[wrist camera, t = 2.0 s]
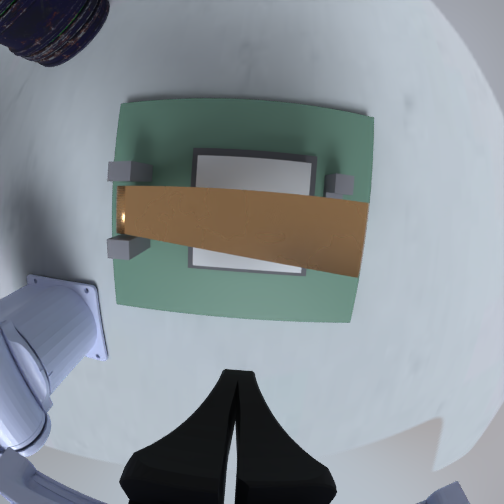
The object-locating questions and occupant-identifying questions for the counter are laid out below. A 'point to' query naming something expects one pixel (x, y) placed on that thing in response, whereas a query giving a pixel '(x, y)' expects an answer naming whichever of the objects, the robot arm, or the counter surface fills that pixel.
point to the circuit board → (240, 131)
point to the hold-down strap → (250, 224)
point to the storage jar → (50, 27)
